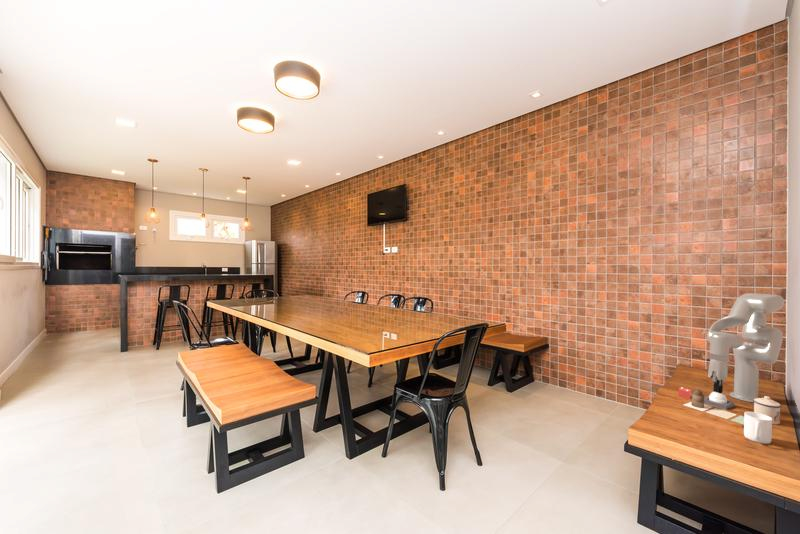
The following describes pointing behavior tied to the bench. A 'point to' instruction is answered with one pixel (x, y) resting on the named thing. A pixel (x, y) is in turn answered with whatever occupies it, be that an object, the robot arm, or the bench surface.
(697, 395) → the pawn
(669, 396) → the bench surface
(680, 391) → the red die
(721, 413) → the game board
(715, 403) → the dome housing
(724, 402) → the dome
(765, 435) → the cup
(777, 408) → the teacup with lid
